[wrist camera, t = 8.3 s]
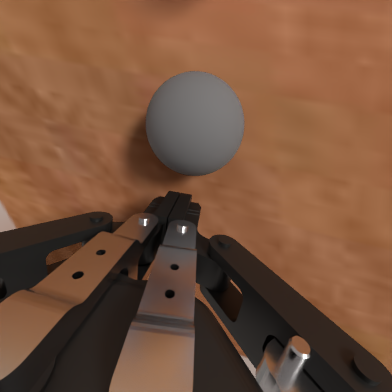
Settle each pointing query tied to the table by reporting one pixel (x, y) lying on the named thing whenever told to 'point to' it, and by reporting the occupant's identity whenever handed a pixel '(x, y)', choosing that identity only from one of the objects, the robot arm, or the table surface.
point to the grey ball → (194, 123)
